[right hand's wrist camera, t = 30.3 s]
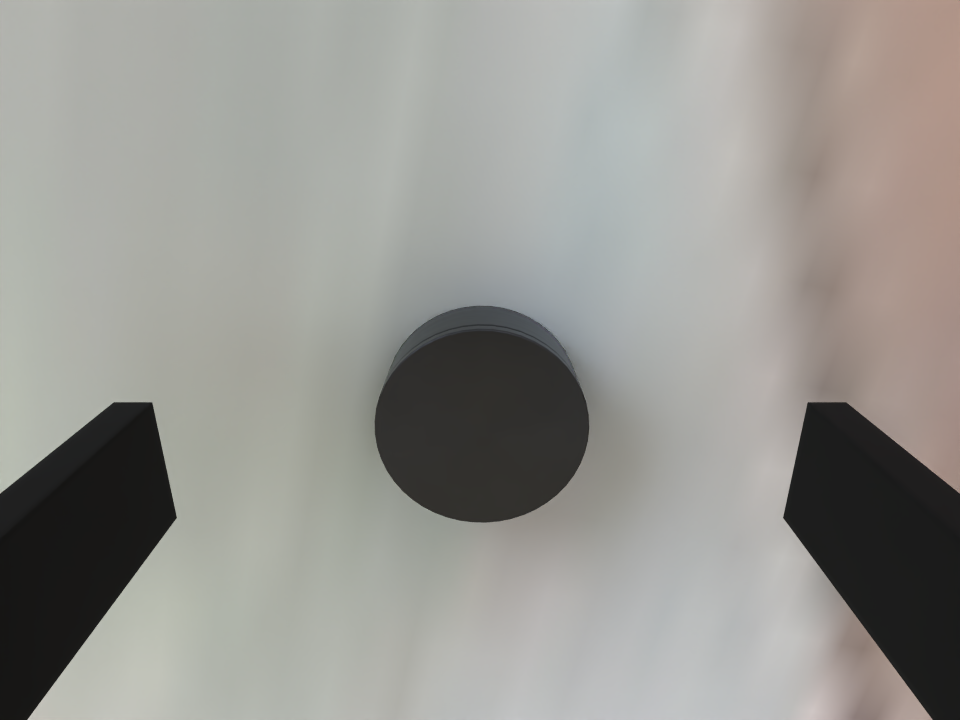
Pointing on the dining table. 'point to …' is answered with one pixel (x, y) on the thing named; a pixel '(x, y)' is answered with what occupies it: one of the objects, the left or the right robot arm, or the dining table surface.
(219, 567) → the dining table surface
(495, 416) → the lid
